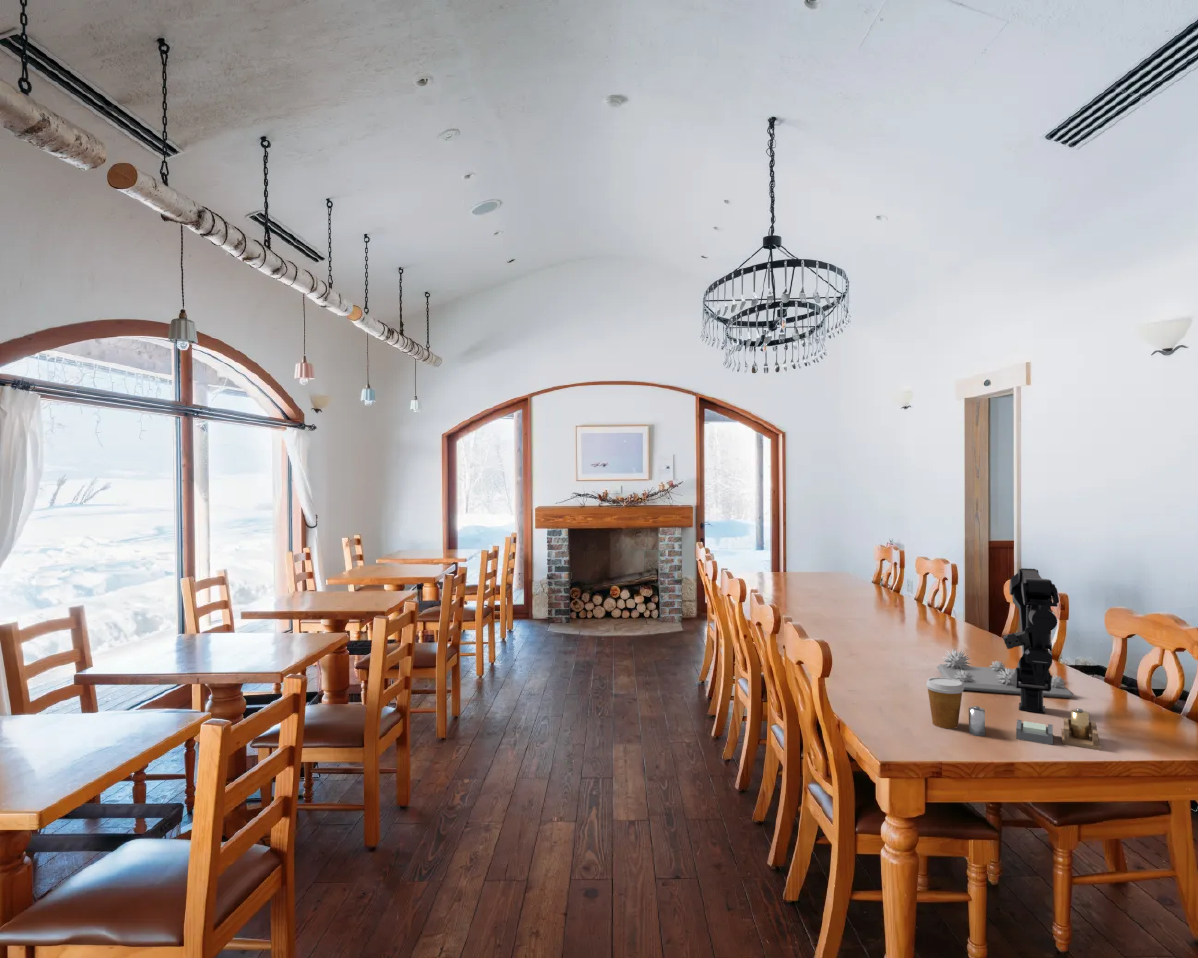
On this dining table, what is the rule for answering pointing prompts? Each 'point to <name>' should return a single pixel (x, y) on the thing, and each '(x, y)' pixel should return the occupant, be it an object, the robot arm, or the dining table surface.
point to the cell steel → (976, 721)
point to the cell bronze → (1080, 724)
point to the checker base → (1034, 734)
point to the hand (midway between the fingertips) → (1039, 680)
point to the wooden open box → (1089, 743)
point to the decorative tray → (991, 677)
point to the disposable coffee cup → (945, 701)
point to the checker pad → (1034, 727)
